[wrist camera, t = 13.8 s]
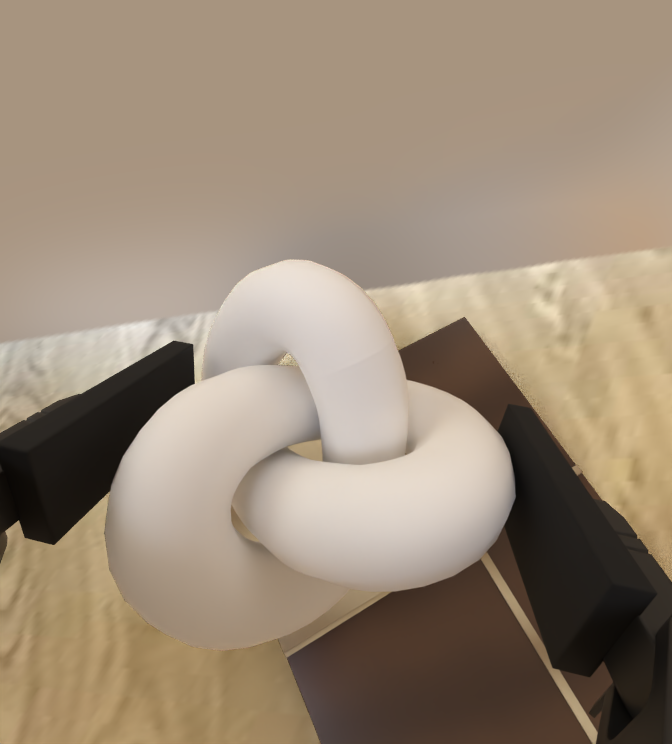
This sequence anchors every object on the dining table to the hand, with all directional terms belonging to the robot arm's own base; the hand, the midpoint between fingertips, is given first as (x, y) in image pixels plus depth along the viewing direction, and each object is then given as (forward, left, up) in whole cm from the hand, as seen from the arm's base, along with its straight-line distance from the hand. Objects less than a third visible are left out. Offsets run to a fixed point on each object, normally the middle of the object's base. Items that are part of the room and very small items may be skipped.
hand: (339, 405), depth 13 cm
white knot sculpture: (+1, -2, -5) cm, 5 cm away
